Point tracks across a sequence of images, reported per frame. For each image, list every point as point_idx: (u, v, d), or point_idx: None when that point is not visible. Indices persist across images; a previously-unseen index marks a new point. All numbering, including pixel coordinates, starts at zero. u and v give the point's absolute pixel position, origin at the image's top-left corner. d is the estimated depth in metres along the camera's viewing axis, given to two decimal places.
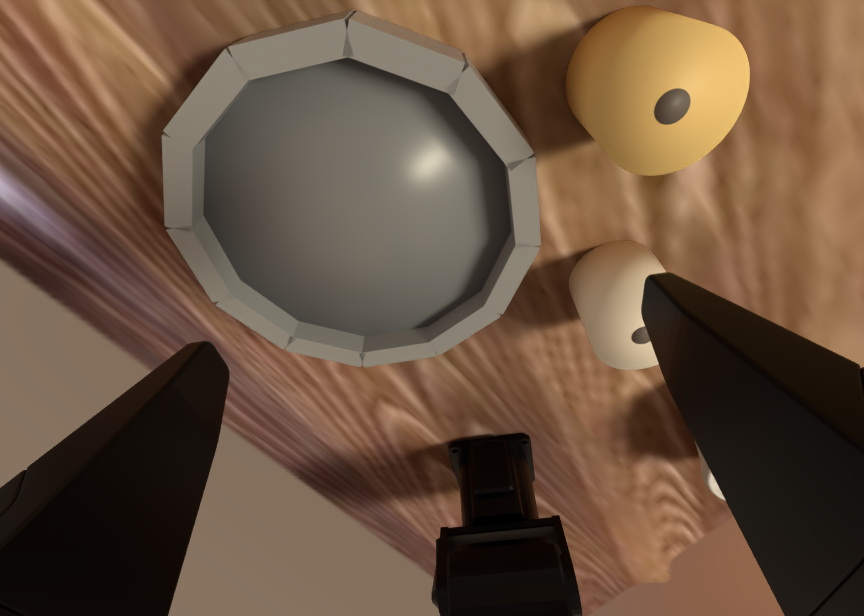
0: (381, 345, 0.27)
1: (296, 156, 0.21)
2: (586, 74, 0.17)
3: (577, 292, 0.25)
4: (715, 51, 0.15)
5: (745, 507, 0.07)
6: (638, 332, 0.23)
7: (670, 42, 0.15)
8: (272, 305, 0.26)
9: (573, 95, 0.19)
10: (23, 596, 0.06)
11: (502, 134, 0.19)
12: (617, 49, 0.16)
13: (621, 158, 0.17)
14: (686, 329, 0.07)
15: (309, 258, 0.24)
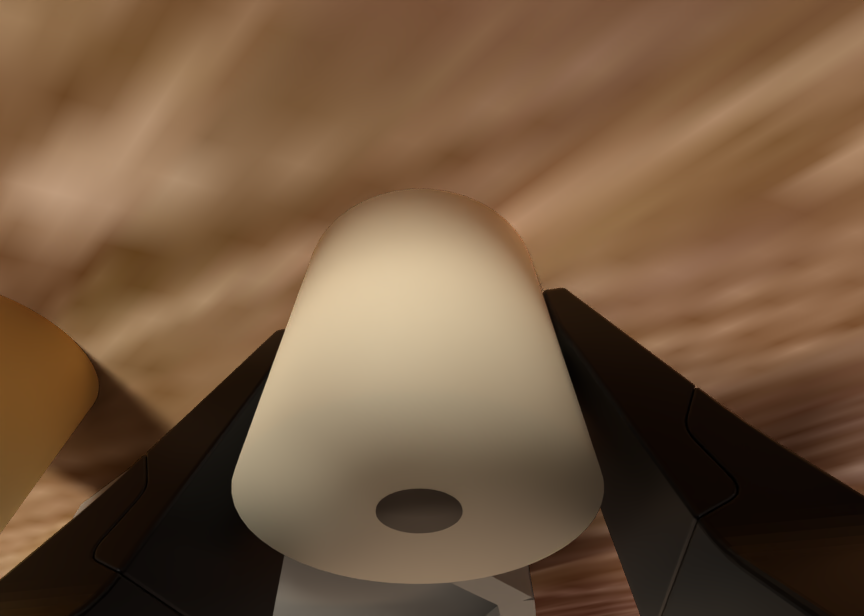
0: None
1: None
2: None
3: None
4: None
5: (612, 520, 0.07)
6: (411, 516, 0.07)
7: None
8: None
9: None
10: (165, 584, 0.05)
11: None
12: None
13: None
14: (563, 346, 0.07)
15: None
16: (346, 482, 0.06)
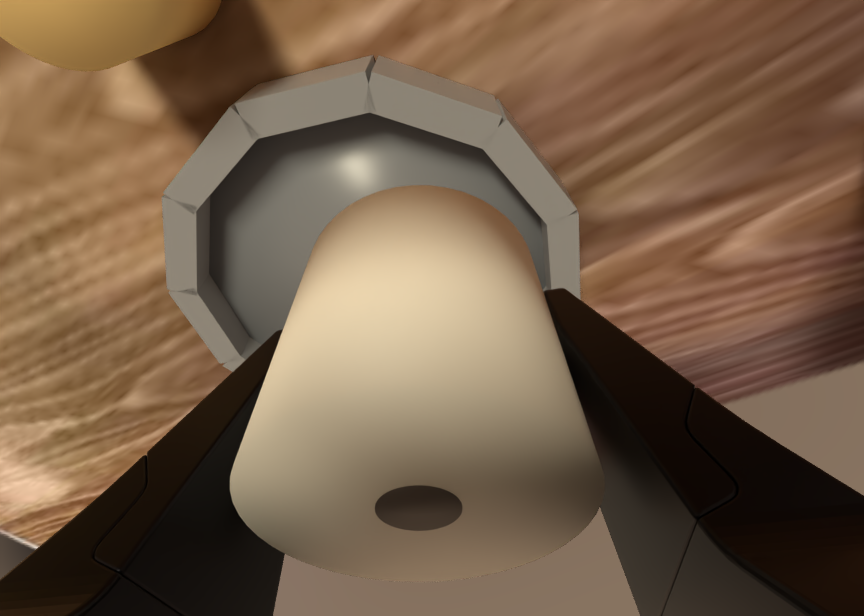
0: (549, 277, 0.20)
1: None
2: None
3: None
4: None
5: (612, 520, 0.07)
6: (410, 513, 0.07)
7: None
8: None
9: None
10: (166, 584, 0.05)
11: (220, 149, 0.16)
12: None
13: (138, 16, 0.11)
14: (563, 346, 0.07)
15: None
16: (344, 480, 0.06)
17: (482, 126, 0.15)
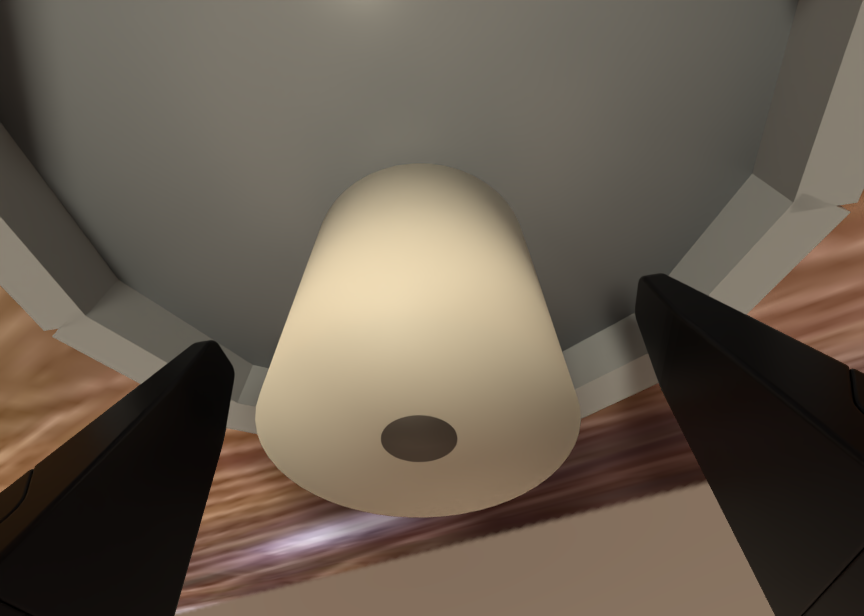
0: (800, 134, 0.08)
1: (252, 250, 0.11)
2: None
3: None
4: None
5: (736, 508, 0.07)
6: (412, 445, 0.07)
7: None
8: (581, 347, 0.13)
9: None
10: (31, 596, 0.06)
11: None
12: None
13: None
14: (678, 330, 0.07)
15: None
16: (355, 409, 0.07)
17: None
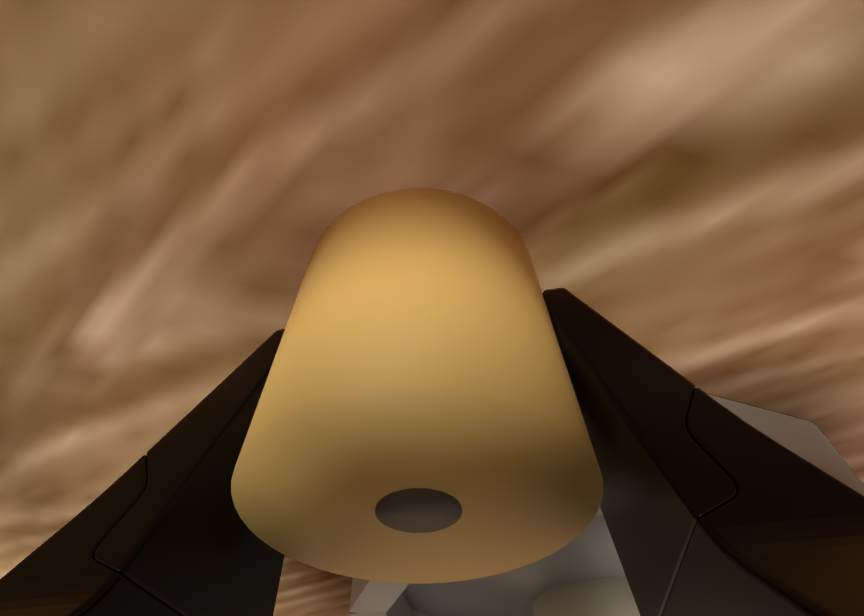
0: None
1: (496, 599, 0.18)
2: None
3: None
4: (283, 474, 0.06)
5: (612, 520, 0.07)
6: None
7: (285, 534, 0.07)
8: None
9: None
10: (165, 583, 0.05)
11: None
12: None
13: (533, 553, 0.07)
14: (563, 346, 0.07)
15: None
16: None
17: None
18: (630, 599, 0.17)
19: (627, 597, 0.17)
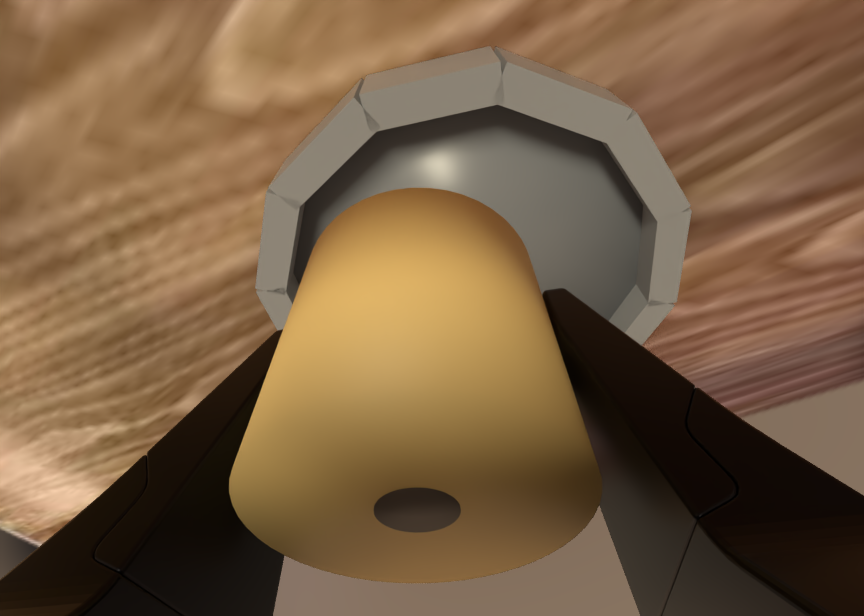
0: (647, 276, 0.19)
1: None
2: None
3: None
4: (281, 474, 0.06)
5: (613, 520, 0.07)
6: None
7: (283, 533, 0.07)
8: None
9: None
10: (165, 584, 0.05)
11: (335, 142, 0.15)
12: None
13: (533, 552, 0.07)
14: (563, 346, 0.07)
15: None
16: None
17: (610, 120, 0.15)
18: None
19: None
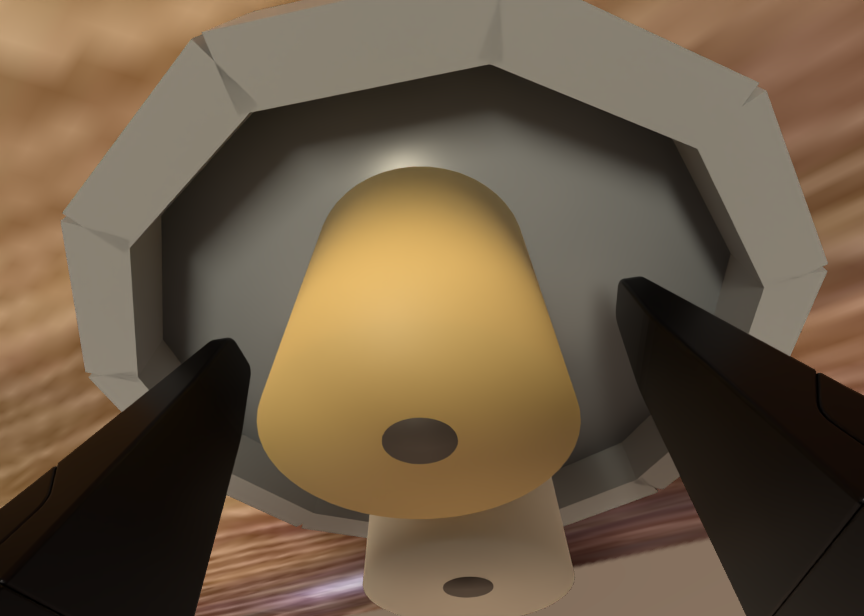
0: None
1: None
2: None
3: None
4: (303, 404, 0.07)
5: (710, 510, 0.07)
6: (462, 587, 0.11)
7: (302, 466, 0.08)
8: (577, 466, 0.16)
9: None
10: (58, 593, 0.06)
11: (173, 132, 0.08)
12: None
13: (522, 486, 0.08)
14: (654, 333, 0.07)
15: None
16: (428, 574, 0.10)
17: (712, 103, 0.07)
18: None
19: None
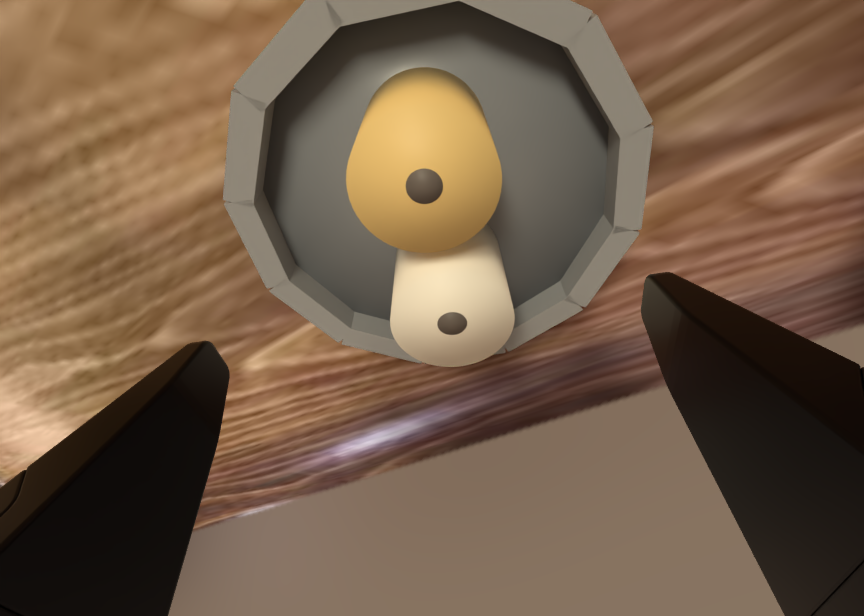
0: (612, 200, 0.19)
1: (365, 249, 0.22)
2: None
3: None
4: (369, 159, 0.14)
5: (745, 507, 0.07)
6: (449, 327, 0.19)
7: (364, 205, 0.15)
8: (531, 301, 0.24)
9: None
10: (23, 596, 0.06)
11: (299, 38, 0.15)
12: None
13: (477, 223, 0.16)
14: (686, 329, 0.07)
15: None
16: (428, 309, 0.18)
17: (571, 22, 0.15)
18: None
19: None
